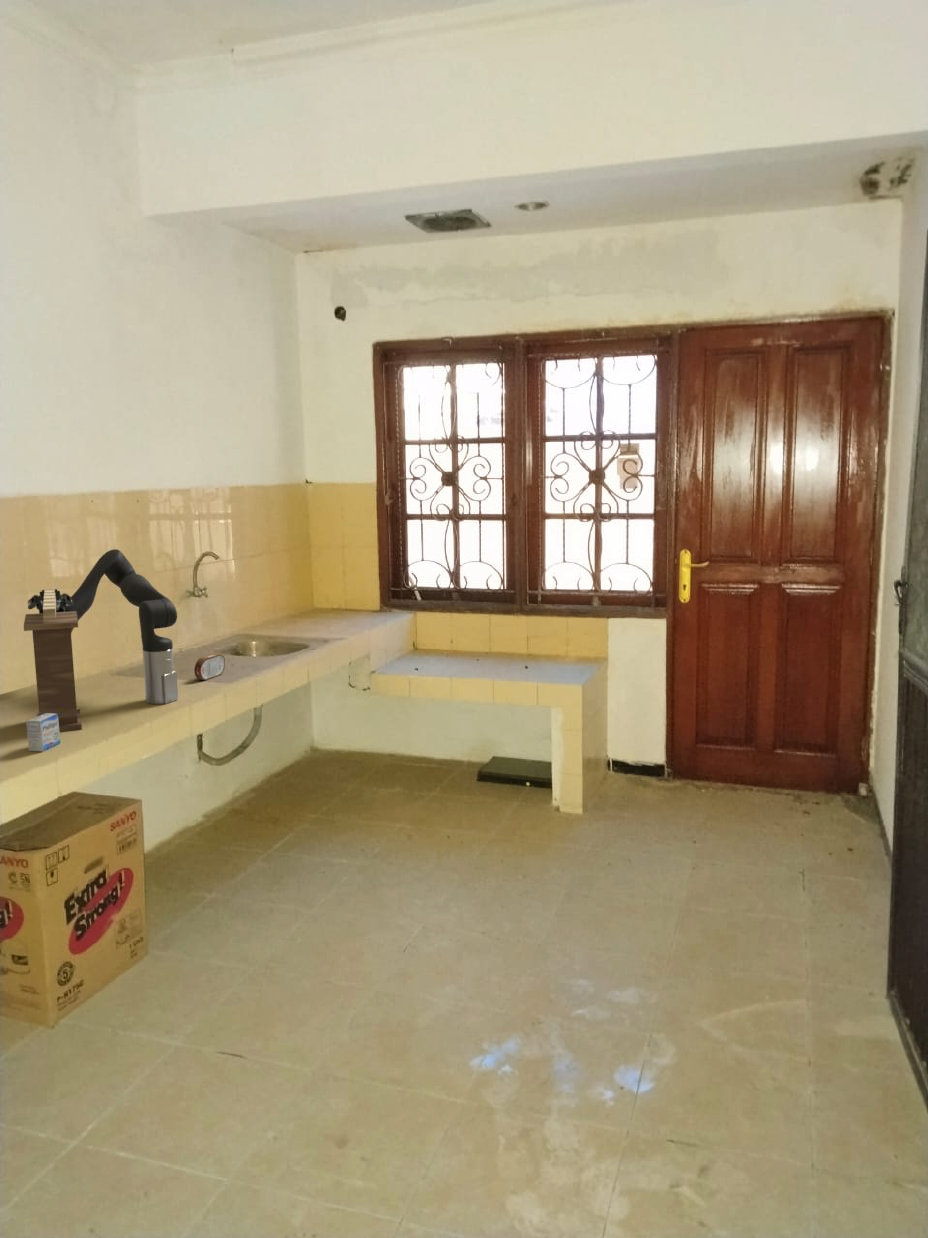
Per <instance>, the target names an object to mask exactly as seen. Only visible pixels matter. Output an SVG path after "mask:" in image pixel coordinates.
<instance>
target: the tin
mask: <svg viewBox="0 0 928 1238" xmlns="http://www.w3.org/2000/svg"><path fill="white" fill-rule="evenodd" d="M225 666H226V658H225V657H224V655H223V654H221V653H217V652H214V653H209V654H207V655H203V656H200V657H199V658H198V659H197V661H196V663H195V665H194V676H195V678H196V679H197V680H199V681H200V680H201V681H202V680H203V681H207V680H210V679H214V678H216V677H220V675H222V674H223V672H224V671H225V668H226V667H225Z"/></svg>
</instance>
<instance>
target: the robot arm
mask: <svg viewBox="0 0 928 1238" xmlns="http://www.w3.org/2000/svg"><path fill="white" fill-rule="evenodd" d="M104 576H106V578H107V579H108V580H109V581H110V582H111V583H112V584H114V585H115V586H116V587H118V588H119V589H120V592H121V593H122V596H123V597H124V598H125V600H127V601H128V602H129V603H130V604H132V605H133V606H135V607H138V619H139V626H140V627H139V628H140V633H141V634H140V636H141V637H140V638H141V645H142V657H143V658H142V659H143V660H142V661H143V675H144V676H143V677H144V678H143V679H144V691H145V703H148V704H153V705H154V704H155V705H158V704H159V705H160V704H169V703H172V702H174V701H178V700H179V693H178V689H179V688H178V675H177V671H176V670H175V666H174V663H175V662H174V651H173V650H174V648H173V647H174V645H173V641H172V639H171V638H168V637H164V636H160V635H157V634H156V633H155V630H156V629H164V628H169V627H172V626H174V625H175V624H176V622H177V619H178V612H177V609H176V607H175V605H174V603H173V602H172V600H171V599H169V598H168V597H166V596H165V595H163V594H162V593H161V592H160V591H158V590H157V589H156V588H155V587H154V586H153V585H152V584H151V583H150V582H149V581H148V580H147V578H145V577H144V576H143V575H142V574H138V573H136V571H135V569H134V567H133V565H132V564H131V562H130V561H129V560H128V558H126V556H125V555H124V554H123V552H122V551H121V550H120V549H116V548H115V549H111V550H108V551H106V552H105V553H103V555H102V556H101V557H100V558H99V559H98V560H97V561H96V562H95V564H94V565H93V567H92V568H91V570H90V571H89V573H88V574H87V575H86V577H85V579H84V580H83V582H82V583H81V584H80V586H79V587H78V588H77V590H76V591H75V592H74V594H72V595H71V596H70V595H69V594H68V593H62V594H61V590H58V588H54V589H55V597H56V612H72V611H77V619H78V622H79V620H80V619H82V617H84V615H85V614H86V613H87V612H88V611H89V610H90V608H91V607H92V605H93V604H94V602H95V598H96V594H97V590H98V587H99V584H100V582H101V580H102V578H103V577H104ZM44 590H45V589H42V590H41V591H39V595H38V594H34V595H32V597H30V599H28V600H27V608H28V610H33V609H35V608H36V609H37V610H38V614H39V613H43V603H44V593H45V591H44ZM74 629H75V628H71V634H72V633H73V631H74Z"/></svg>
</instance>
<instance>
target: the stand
mask: <svg viewBox="0 0 928 1238" xmlns="http://www.w3.org/2000/svg"><path fill="white" fill-rule="evenodd" d="M23 621H24V622H23V631H24V632H30V631H32V641H33V642H32V643H33V654H34V656H33V657H34V665H35V666H34V667H35V679H36V689H37V691H36V693H37V702H38V712H37V715H36V717H37V716H40V715H42V714H44V713H54V714H58V722H59V733H62V732H68V731H69V732H70V731H79V730H82V729H83V728H82V726H83V725H82V716H81V715H82V714H81V708H77V696H76V683H75V681H76V680H75V670H74V668H75V667H74V655H73V653H74V652H73V644H72V633H71V628H74V629H75V628H79V621H78V619H77V611H72V612H56V620H44V616H43V613H39V612H38V613H26V614H25V617H24V620H23Z"/></svg>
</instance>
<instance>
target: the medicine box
mask: <svg viewBox="0 0 928 1238" xmlns="http://www.w3.org/2000/svg"><path fill="white" fill-rule="evenodd" d="M25 723H26V725H25V726H26V733H27V734H26V735H27V744H28V751H29V752H41V753H43V752H42V751H44V752H46V751H48V750H49V748H50V749H51V748H54V747H55V746H57V745H59V744H60V743H61V735H60V732H59V722H58V714H54V713H44V714H42V715H40V716H37V715H36V717H33V718H31V719H28V720H26V721H25ZM53 746H54V747H53ZM45 750H46V751H45Z"/></svg>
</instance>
